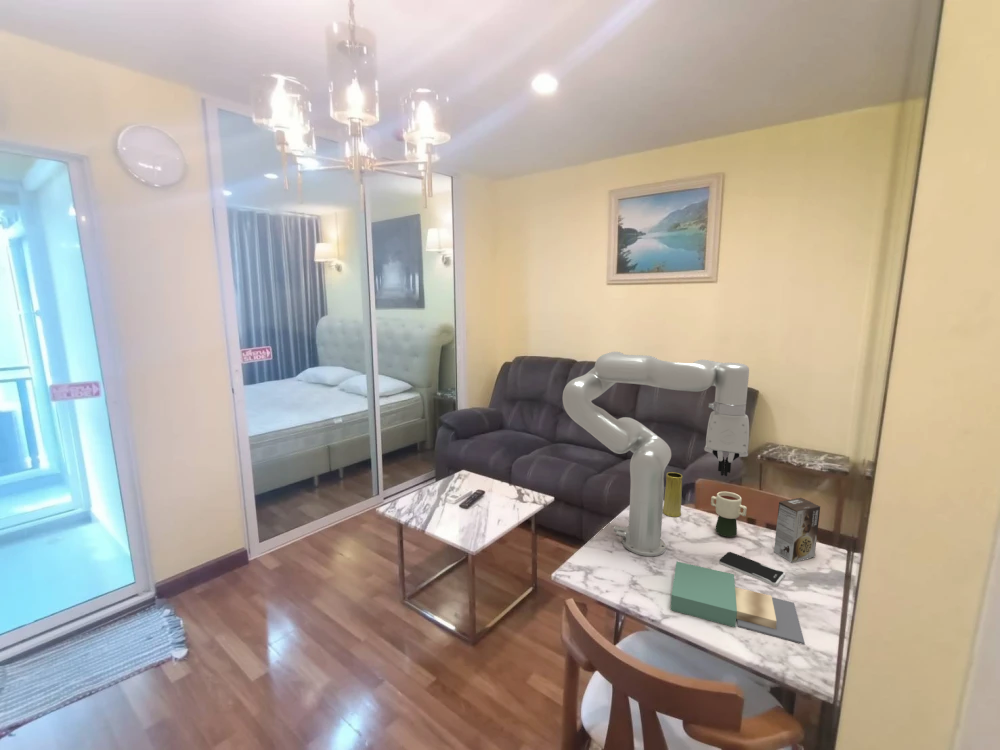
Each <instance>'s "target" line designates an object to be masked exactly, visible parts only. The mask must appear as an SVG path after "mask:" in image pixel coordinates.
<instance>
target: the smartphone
mask: <svg viewBox="0 0 1000 750" xmlns="http://www.w3.org/2000/svg"><path fill="white" fill-rule="evenodd" d="M718 561H719V562H718V563H719V564H720V565H721V566H724V567H727V568H729V569H731V570H734V571H736V572H739V573H741V574H743V575H746V576H748V577H751V578H753V579H755V580H757V581H761V582H763V583H765V584H768V585H770V586H773V587H778V586H779V585H780V584H781V582H783V580H784V579H785V577H786V573H785V572H784V571H782V570H780V569H776V568H774V567H772V566H768V565H767V564H764V563H761V562H758V561H756V560H753V559H750V558H749V557H744V556H743V555H740V554H737V553H735V552H731V551H728V552H726V553H725V554H724V555H722V557H721V558H720V559H719V560H718Z"/></svg>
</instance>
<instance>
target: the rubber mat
mask: <svg viewBox="0 0 1000 750" xmlns="http://www.w3.org/2000/svg"><path fill="white" fill-rule="evenodd" d="M772 601H773V606H774V611H775V616H776V621H777V622H776V629H774V628H770V627H766V626H762V625H758V624H754V623H751V622H747V621H743V620H739V619H736V623H737V624H736V625H737V628H741V629H745V630H748V631H752V632H756V633H759V634H762V635H768V636H772V637H774V638H779V639H783V640H786V641H790V642H793V643H797V644H800V643H801V644H800V645H805V644H806V642H805V638H804V635H803V631H802V628H801V624H800V623H801V622H800V621H799V620H800V619H799V617H798V613H797V607H796V606H795V602H793V601H788V600H785V599H780V598H776V597H772Z"/></svg>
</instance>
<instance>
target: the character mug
mask: <svg viewBox="0 0 1000 750" xmlns="http://www.w3.org/2000/svg"><path fill="white" fill-rule="evenodd" d="M710 499H711V500H710V505H711V506H712V507H715V512H716V514H717V515H718V517H717V520H716V524H715V528H714V529H715V532H716V533H717V534H719V535H720V536H723V537H728V538H729V537H736V536H737V534H738V527H737V519H739V517H740V516H741V517H746V516H747V511H748V508H747V506H745V505H742V497H741V495H739V494H737V493H735V492H732V491H731V492H730V491H719V492H717V493H716V496H714V495H712V496H711V497H710ZM741 509H742V511H741Z"/></svg>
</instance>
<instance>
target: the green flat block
mask: <svg viewBox="0 0 1000 750" xmlns="http://www.w3.org/2000/svg"><path fill="white" fill-rule="evenodd" d="M673 575H674V576H673V582H672V588H671V589H672V590H671V598H670V611H673V612H676V613H680V614H684V615H688V616H690V617H691V616H692V617H696V618H699V619H703V620H707V621H710V622H714V623H717V624H721V625H725V626H729V627H733V628H736V625H737V624H736V623H737V619H736V615H737V606H736V593H735V587H736V583H735V574H734V573H730V572H725V571H722V570H716V569H712V568H707V567H704V566H700V565H695V564H691V563H685V562H681V561H676V563H675V569H674V574H673Z"/></svg>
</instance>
